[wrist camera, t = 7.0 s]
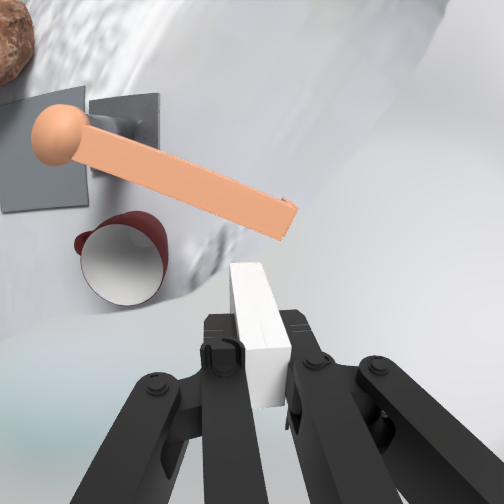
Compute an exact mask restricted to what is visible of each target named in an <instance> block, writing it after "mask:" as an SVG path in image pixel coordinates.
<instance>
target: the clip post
mask: <svg viewBox="0 0 504 504" xmlns="http://www.w3.org/2000/svg"><path fill="white" fill-rule="evenodd" d="M86 115H87V117H88V119H89V122H90V126H93V127H96V128H99V129H102V130H105V131H108V132H111V133H114V134H116V135H119V136H122V137H125V138H128V139H130V140H133V141H136V142H139V143H141V144H144V145H147V146H149V147H152V148H155V149H158V150H160V93H149V94H138V95H128V96H120V97H112V98H105V99H98V100H91V101H89V114H86ZM94 170H98V169H96V168H93V167H91V171H94Z"/></svg>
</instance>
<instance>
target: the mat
mask: <svg viewBox="0 0 504 504" xmlns="http://www.w3.org/2000/svg"><path fill="white" fill-rule="evenodd" d="M57 104H63V105H71V106H76V107H78V108H80V109H81V110H82V111H84V113H85V86H80V87H75V88H70V89H65V90H60V91H56V92H51V93H47V94H43V95H39V96H35V97H31V98H27V99H23V100H20V101H16V102H13V103H9V104H6V105H3V106H0V206H1V212H10V211H20V210H30V209H41V208H52V207H65V206H78V205H88V204H89V198H88V186H87V172H86V165H85V164H82V163H80V162H77V161H73V162H70V163H67V164H63V165H60V166H48V165H46V164H44V163H42V162H41V161H40V160H39V159H38V158H37V157H36V155H35V154H34V152H33V149H32V145H31V132H32V128H33V125H34V123H35V121H36V119H37V117H38V116H39V115H40V113H41V112H42V111H44V110H45V109H46V108H48V107H50V106H52V105H57Z"/></svg>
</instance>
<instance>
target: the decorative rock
mask: <svg viewBox="0 0 504 504" xmlns="http://www.w3.org/2000/svg"><path fill="white" fill-rule="evenodd" d="M33 28H34V26H33V25H32V20H31V17H30V14H29V12H28V10H27V8H26V6H25V3H23V2H19V1H17V0H0V86H1V85H5V84H7V83H8V82H10V81H12V80H14V79H15V78H17V76H18V75H19V73H20V71H21V70H22V69H23V68H24V67H25V65H26V64H27V63H28V61H29V60H30V58H31V57H32V55H33V50H34V42H35V41H34V31H33Z"/></svg>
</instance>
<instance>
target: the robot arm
mask: <svg viewBox="0 0 504 504" xmlns="http://www.w3.org/2000/svg"><path fill="white" fill-rule="evenodd" d="M229 267H230V314H209V316H208V317H207V318H206V319H205V321H204V343H203V344H202V345H201V348H200V356H201V367H202V368H201V369H200V371H199V372H197V373H196V374H195V375H193V376H191V377H188V378H185V379H180V380H177V379H176V378H175V377H173V376H172V375H170V374H167V373H162V372H155V373H151V374H147V375H145V376H143V377H142V378H141V379H140V380H139V381H138V382H137V383H136V385H135V387H134V388H133V390H132V392H131V393H130V395H129V397H128V399H127V401H126V402H125V404H124V406H123V407H122V409H121V411H120V413H119V414H118V416H117V418H116V420H115V422H114V423H113V425H112V427H111V429H110V430H109V432H108V434H107V436H106V438H105V439H104V441H103V443H102V445H101V446H100V448H99V450H98V452H97V454H96V456H95V457H94V459H93V461H92V463H91V465H90V467H89V468H88V470H87V472H86V474H85V476H84V478H83V479H82V481H81V483H80V485H79V487H78V489H77V491H76V492H75V494H74V496H73V498H72V500H71V502H70V504H168V502H169V499H170V496H171V493H172V490H173V487H174V484H175V481H176V478H177V475H178V472H179V469H180V466H181V463H182V460H183V458H184V454H185V452H186V449H187V446H188V443H189V439H192V438H197V437H200V436H202V444H203V445H202V446H203V479H204V502H205V504H269V503H268V497H267V492H266V487H265V481H264V476H263V470H262V465H261V459H260V453H259V448H258V442H257V437H256V431H255V425H254V419H253V413H252V409H255V408H266V407H277V406H284V405H285V397H286V399H287V403H288V412H287V418H286V424H285V430H288V429H289V425H290V429H291V433H292V436H293V440H294V444H295V448H296V452H297V455H298V459H299V463H300V467H301V470H302V474H303V478H304V482H305V485H306V489H307V492H308V496H309V500H310V504H403V502H402V500H401V498H400V496H399V494H398V492H397V490H398V491H399V492H400V493H401V494H402V496H403V497H404V498H405V499H406V500H407V502H408V503H409V504H504V463H503V462H502V461H501V460H500V459H499V458H498V457H497V456H496V455H495V454H494V453H493V452H492V451H490V449H488V448H487V447H486V446H485V445H484V444H483V443H482V442H481V441H480V440H479V439H478V438H477V437H475V436H474V435H473V434H472V433H471V432H470V431H469V430H468V429H467V428H466V427H465V426H464V425H462V424H461V423H460V422H459V421H458V420H457V419H456V418H455V417H454V416H453V415H451V414H450V413H449V412H448V411H447V410H446V409H445V408H444V407H443V406H441V404H439V403H438V402H437V401H436V400H435V399H434V398H433V397H432V396H431V395H430V394H428V393H427V392H426V391H425V390H424V389H423V388H422V387H421V386H420V385H418V384H417V383H416V382H415V381H414V380H413V379H412V378H411V377H410V376H409V375H407V374H406V373H405V372H404V371H403V370H402V369H401V368H400V367H399V366H397V365H396V364H395V363H394V362H393V361H391V360H390V359H388V358H385V357H383V356H375V355H373V356H368V357H366V358H364V359H362V361H361V362H360V364H359V367H358V366H346V365H340V364H337V363H335V361H334V359H333V358H332V357H331V356H330V355H328V354H327V353H325V352H322V351H321V349H320V347H319V345H318V343H317V340H316V338H315V336H314V334H313V332H312V331H311V328H310V326H309V325H308V322H307V320H306V317H305V316H304V315H303V314H302V313H300V312H299V311H298V310H296V309H295V310H278V308H277V305H276V302H275V300H274V297H273V294H272V291H271V289H270V286H269V283H268V280H267V278H266V275H265V272H264V269H263V267H262V264H261V262H252V263H229ZM383 411H384V412H385V413H384V412H383ZM396 488H397V489H396Z"/></svg>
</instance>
